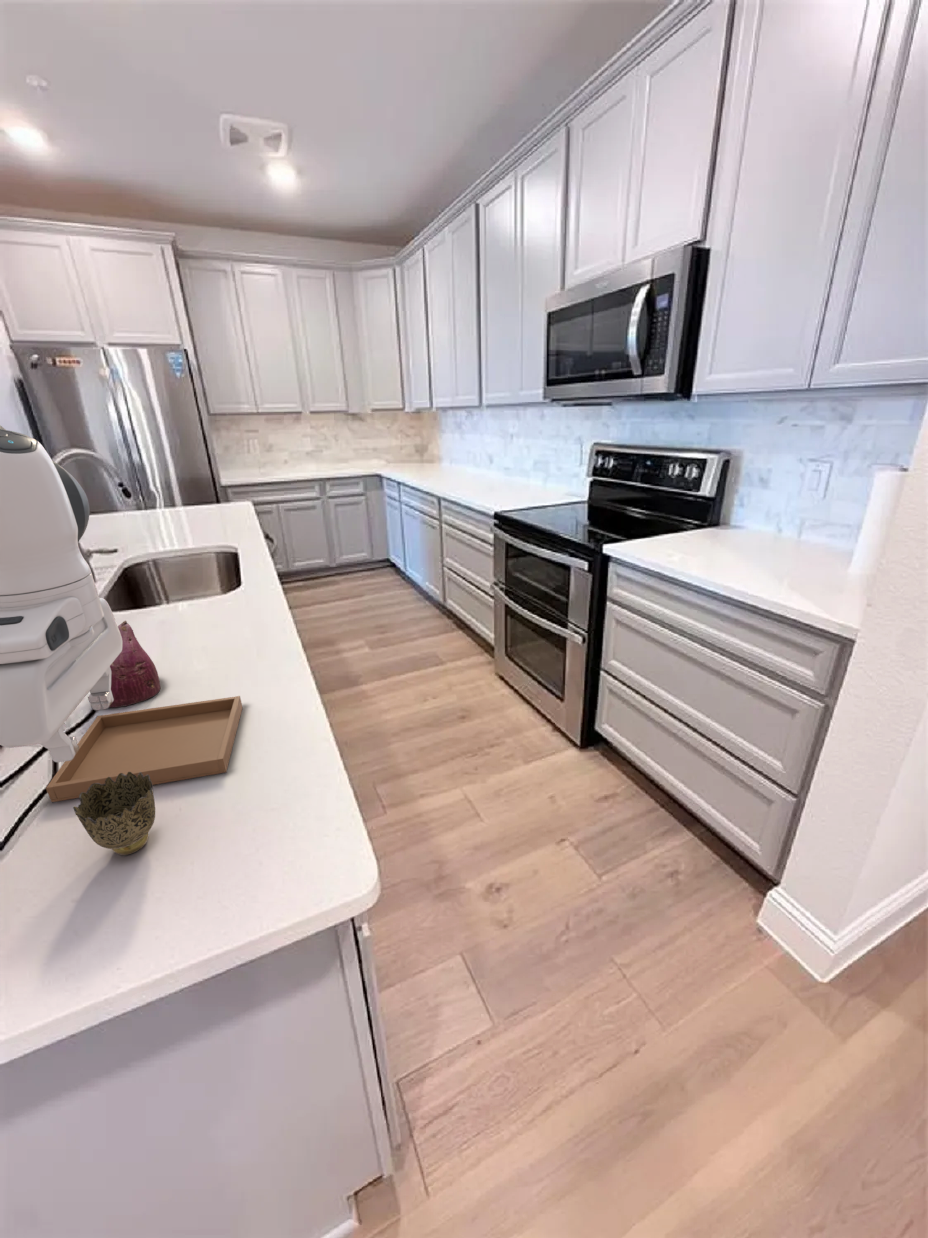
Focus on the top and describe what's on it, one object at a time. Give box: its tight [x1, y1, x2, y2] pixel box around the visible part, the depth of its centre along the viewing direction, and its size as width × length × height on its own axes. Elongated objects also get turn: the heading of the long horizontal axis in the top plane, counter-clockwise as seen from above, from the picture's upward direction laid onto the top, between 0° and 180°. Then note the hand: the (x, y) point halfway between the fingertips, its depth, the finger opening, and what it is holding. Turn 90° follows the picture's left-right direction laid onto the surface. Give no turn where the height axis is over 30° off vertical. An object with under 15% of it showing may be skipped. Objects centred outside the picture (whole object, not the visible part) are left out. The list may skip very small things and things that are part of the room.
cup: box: [73, 772, 156, 856], centre depth 59 cm, size 8×7×8 cm
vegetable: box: [108, 620, 161, 708], centre depth 92 cm, size 10×10×15 cm
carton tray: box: [45, 695, 243, 803], centre depth 77 cm, size 22×18×2 cm
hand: (87, 729), depth 54 cm, fingers open, 8 cm apart
